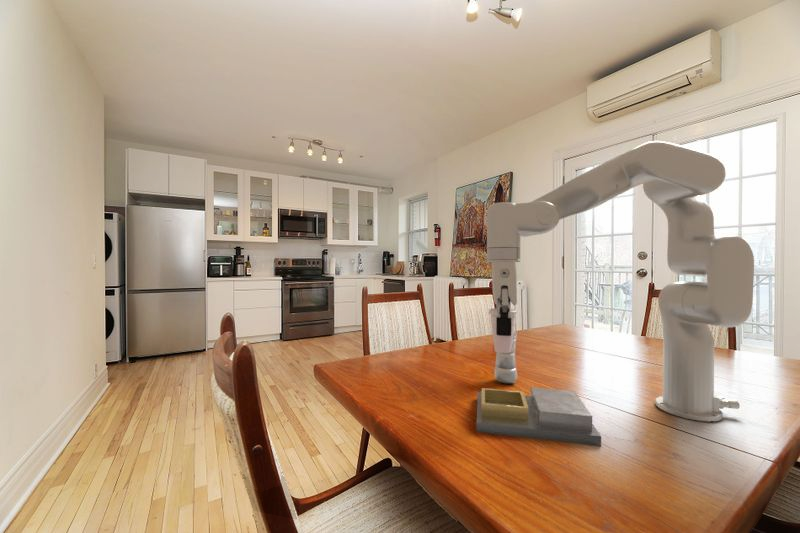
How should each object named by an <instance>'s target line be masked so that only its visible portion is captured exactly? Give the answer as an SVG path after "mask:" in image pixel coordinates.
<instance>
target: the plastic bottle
mask: <svg viewBox="0 0 800 533" xmlns="http://www.w3.org/2000/svg"><path fill="white" fill-rule="evenodd" d="M517 336H518V334H517V331H516V329H515V328H514V333H513V340H512V348H511V352H510V353H500V352H496V351H495V353H496V356H495V366H494V373H493V374H494V379H495V380H496V381H497V382H499V383H502V384H513V383H516V381H517V379H518V370H517V365H516V363H517V362H516V345H517Z"/></svg>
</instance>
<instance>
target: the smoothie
mask: <svg viewBox="0 0 800 533" xmlns="http://www.w3.org/2000/svg"><path fill="white" fill-rule="evenodd" d="M488 311H489V312H488V314H489V315H490V323H491V329H492V330H491V331H492V339H493V348H494V349H493V350H494V352H495V353H496V352H500V353H510V352H511V348H512V340H513V333H514V329H515V324H516V317H517V316H518V310H517V309H515V308H514V309H513V308H510V311H511V336H499V335H497V334H496V317H498V308H490V309H489V310H488Z"/></svg>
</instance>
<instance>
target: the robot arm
mask: <svg viewBox="0 0 800 533" xmlns="http://www.w3.org/2000/svg"><path fill="white" fill-rule="evenodd" d="M726 175H727V171H726V168H725V165H724V164H723V162H722V161H721V160H720V159H719V158H718V157H716V156H714V155H713V154H710V153H707V152H704V151H700V150H697V149H693V148H691V147H687V146H683V145H680V144H677V143H676V144H675V143H673V142H666V141H660V140H653V141H648V142H645V143H643V144H641V145H639V146H636V147H633V148H632V149H629V150H628V151H625V152H623V153H621V154H618V155H617V156H615V157H613V158H611V159H609V160H607V161H605V162H603V163H601V164H599V165H597V166H595V167H594V168H591V169H590V170H587V171H586V172H584V173H581V174H580V175H578V176H576V177H574V178H573V179H570V180H569V181H567V182H565V183H564V184H562V185H560V186H558V187H557V188H554V190H551V191H549V192H548V193H546V194H544V195H541V196H540V197H538V198H536V199H534V200H532V201H530V202H520V203H518V202H517V203H516V202H510V201H509V202H508V201H506V202H505V201H504V202H495V203H491V204H490V205H489V206H488V207H487V211H486V212H487V213H486V263H491V280H492V283H491V285H492V286H491V287H492V297H493V303H494V304H495V305H496V308H498V317H496V334H497V335H499V336H511V311H510V309H511V304H512V305H513V306H516V305H518V291H517V290H518V289H517V286H518V284H517V283H518V282H517V265H516V264H517V263H521V238H523V237H524V238H525V237H532V236H538V235H539V236H540V235H542V234H543V235H544V234H546V233H549V232H551V231H553V230H554V229H555V228H556V227H557V226H558V224H559V223H560V220H563V219H565V218H568V217H571V216H574V215H578V214H581V213H585V212H587V211H591V210H592V209H595V208H597V207H599V206H601V205H603V204H605V203H607V202H608V201H610V200H612V199H614V198H616V197H618V196H619V195H622V194H623V193H626V192H627V191H629V190H631V189H633V188H635V187H638V186H640V185H642V188H643V192H644V195H645V196H646V197H647V198H648V199H649V200H651V202H653V203H654V204H656V205H657V206H658V207H659V208H660V209H661V210H662V211H663V213H664V214H665V216H666V219H667V254H666V256H667V257H666V259H667V260H666V261H667V265H668V268H669V270H670V271H672V272H673V273H674V274H676V275H681V276H689V277H706V282H704V281H688V280H687V281H686V280H685V281H674V282H670V283H669V284H666V285H665V286H663V287H662V289H661V290H660V292H659V295H658V300H657V301H658V308H659V313H660V316H661V321H662V322H661V323H662V337H663V338H662V343H663V344H662V395H659V396H658V397H655V399H654V402H655V403H654V404H655V406H657V407H658V409H660V410H662V411H664V412H666V413H668V414H671V415H673V416H677V417H680V418H683V419H687V420H692V421H698V422H709V423H710V422H711V421H713V422H719V421H721V420H723V418H724V414H723V411H722V410H723V409H724V408H728V409H735V410H738V409H740V406H741V405H740V402H739V401H738V400H736V399H725V397H724V396H718V395H716V394H715V339H714V336H713V333H712V330H711V328H710V326H714V327H722V328H735V327H739V326H742V325H743V324H745V322H746V321H747V320H748V319H749V317H750V315H751V313H752V309H753V303H754V302H753V301H754V299H753V298H754V282H755V281H754V278H755V258H754V257H755V256H754V253H753V252H754V251H753V249H752V248H751V246H750V245H749V243H748V241H746V240H745V239H744V238H743V237H740V236H738V235H735V234H727V233H723V234H719V233H718V234H715V224H714V222H715V220H714V212H713V210H712V208H711V207H710V206H709V205H710V204H708V203H707V201H705V200H704V198H702V197H701V196H704V195H706V194H709V193H710V194H711V193H712V192H714V191H715V190H718V188H719V187H721V186H722V184H723V183H724V181H725V179H726ZM711 423H712V422H711Z"/></svg>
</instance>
